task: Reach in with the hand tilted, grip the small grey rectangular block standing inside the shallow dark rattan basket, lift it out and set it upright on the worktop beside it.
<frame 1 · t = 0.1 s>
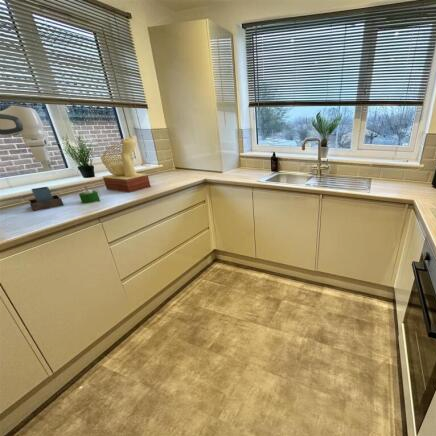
hand: (48, 169, 124), 21 cm above the countertop, tool pointing down, fingers open, 8 cm apart
cream sculpture: (129, 188, 168), on the countertop
candle: (91, 202, 140), on the countertop
grey rectangular block: (47, 206, 133), point 1 cm above the countertop, touching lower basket
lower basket: (47, 207, 133), on the countertop
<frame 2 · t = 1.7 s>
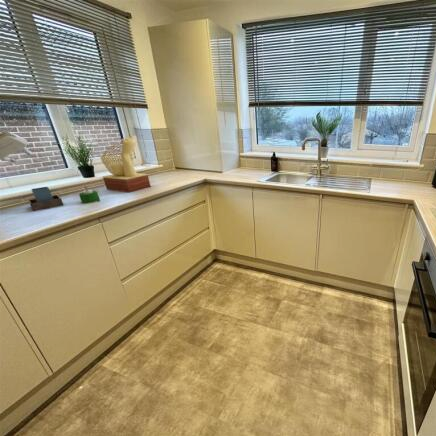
hand: (22, 157, 124), 27 cm above the countertop, tool tilted 45°, fingers open, 8 cm apart
nothing on the countertop moved.
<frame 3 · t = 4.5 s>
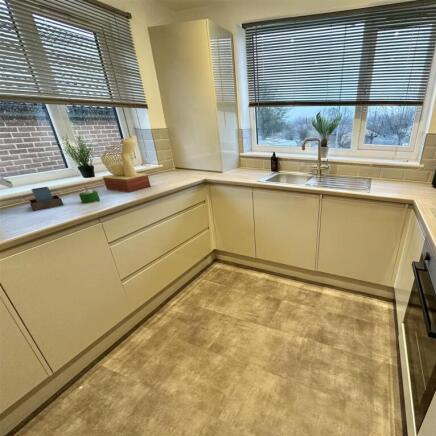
hand: (11, 185, 122), 14 cm above the countertop, tool tilted 45°, fingers open, 8 cm apart
nothing on the countertop moved.
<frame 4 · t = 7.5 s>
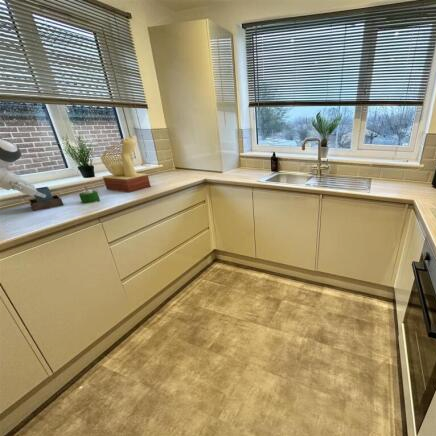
hand: (44, 195, 131), 7 cm above the countertop, tool tilted 45°, fingers closed on grey rectangular block, 6 cm apart
grey rectangular block: (47, 206, 133), point 1 cm above the countertop, touching gripper, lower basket
everything else where it was.
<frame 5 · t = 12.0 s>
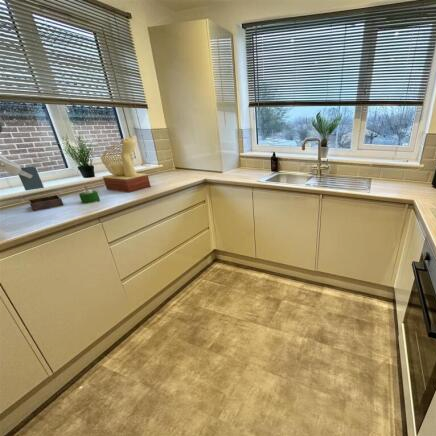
hand: (31, 176, 116), 19 cm above the countertop, tool tilted 45°, fingers closed on grey rectangular block, 6 cm apart
grey rectangular block: (34, 188, 118), point 13 cm above the countertop, touching gripper
everything else where it was.
when the fingers open (6 cm above the countertop, at t = 16.7 s): grey rectangular block stays where it is, on the countertop.
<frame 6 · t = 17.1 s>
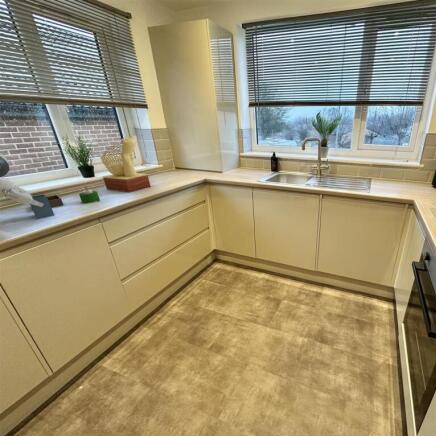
hand: (41, 203, 118), 6 cm above the countertop, tool tilted 45°, fingers open, 8 cm apart
grey rectangular block: (45, 215, 120), on the countertop
everything else where it was.
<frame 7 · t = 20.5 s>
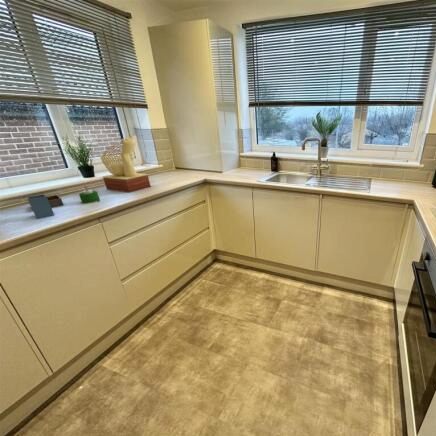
nothing on the countertop moved.
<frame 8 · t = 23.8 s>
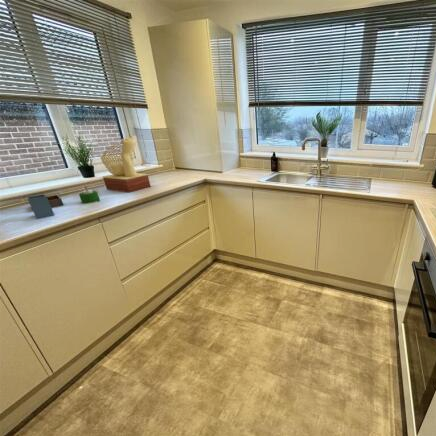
nothing on the countertop moved.
at the end: grey rectangular block inside the target area (0.2 cm from its centre), on the countertop; grey rectangular block tilted 0°; grey rectangular block touching countertop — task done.
